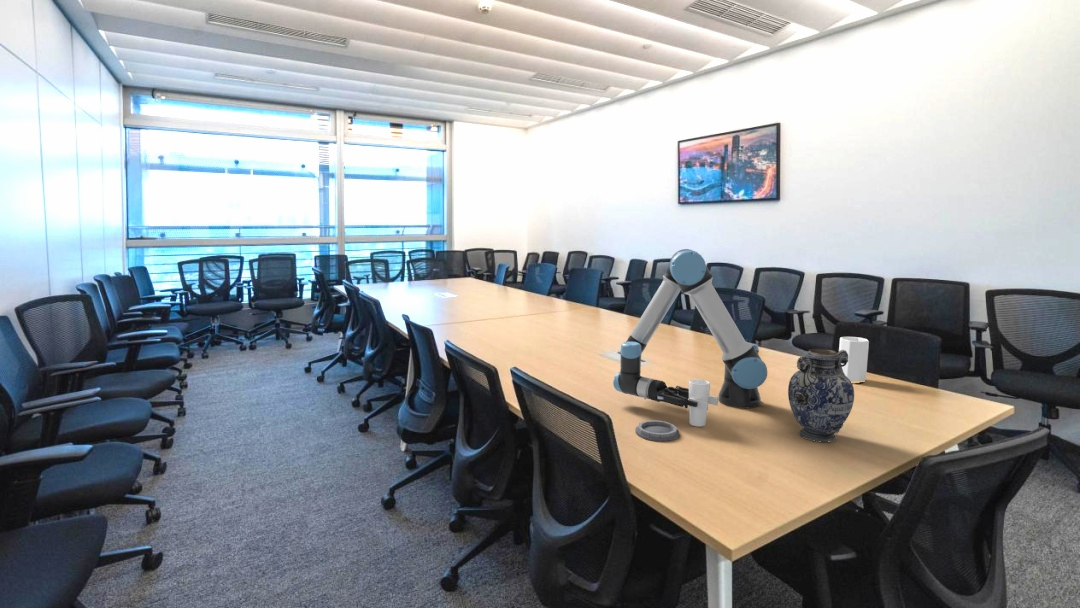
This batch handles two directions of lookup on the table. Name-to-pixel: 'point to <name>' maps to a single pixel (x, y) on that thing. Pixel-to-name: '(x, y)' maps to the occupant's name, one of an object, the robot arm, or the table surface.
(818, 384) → the decorative vase
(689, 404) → the robot arm
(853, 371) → the cup
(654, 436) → the coaster
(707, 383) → the drinking glass
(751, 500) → the table surface
